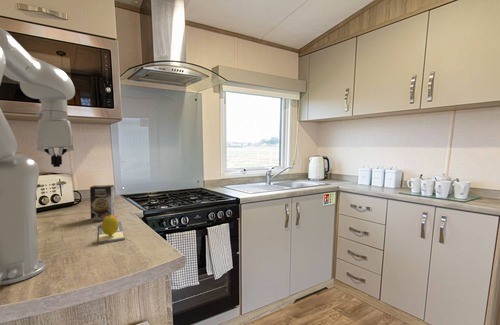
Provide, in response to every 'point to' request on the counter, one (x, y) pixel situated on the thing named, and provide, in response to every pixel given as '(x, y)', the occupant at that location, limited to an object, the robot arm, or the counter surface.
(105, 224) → the lemon
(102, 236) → the board
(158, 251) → the counter surface
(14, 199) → the robot arm
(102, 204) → the coffee box
